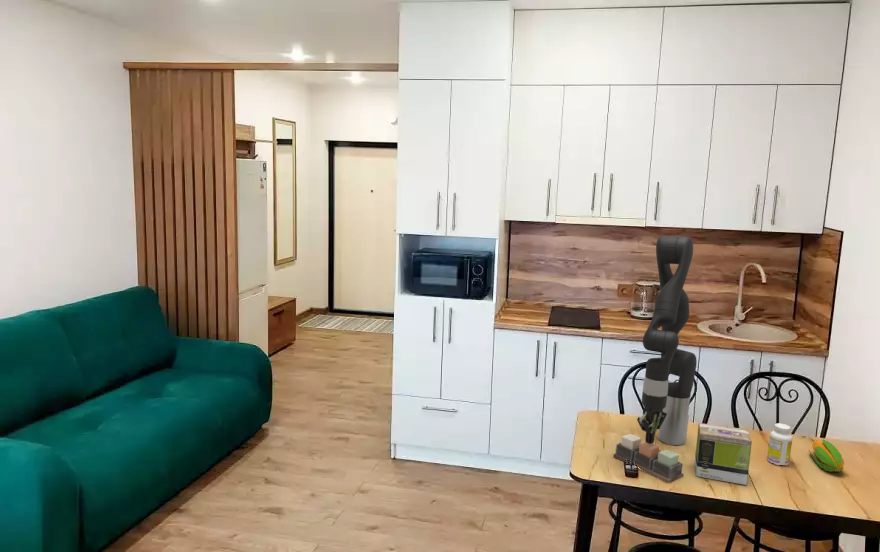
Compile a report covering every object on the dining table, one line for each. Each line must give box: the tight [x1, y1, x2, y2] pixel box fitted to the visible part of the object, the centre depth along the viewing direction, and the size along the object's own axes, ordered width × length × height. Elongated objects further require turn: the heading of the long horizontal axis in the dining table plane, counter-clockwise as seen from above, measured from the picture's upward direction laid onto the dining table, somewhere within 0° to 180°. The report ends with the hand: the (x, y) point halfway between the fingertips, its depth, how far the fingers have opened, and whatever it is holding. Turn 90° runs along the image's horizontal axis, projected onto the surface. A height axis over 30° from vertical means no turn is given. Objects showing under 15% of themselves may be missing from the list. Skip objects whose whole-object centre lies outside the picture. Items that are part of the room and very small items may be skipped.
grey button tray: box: [612, 442, 684, 484], centre depth 209 cm, size 8×21×4 cm, turn 37°
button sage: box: [657, 449, 680, 467], centre depth 203 cm, size 4×4×4 cm
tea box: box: [694, 422, 753, 486], centre depth 205 cm, size 15×10×15 cm
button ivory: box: [620, 433, 642, 450], centre depth 214 cm, size 4×4×4 cm
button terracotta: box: [639, 442, 661, 458], centre depth 209 cm, size 4×4×4 cm
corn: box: [808, 438, 845, 473], centre depth 218 cm, size 7×8×20 cm
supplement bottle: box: [766, 422, 793, 466], centre depth 216 cm, size 7×7×13 cm
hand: (649, 442), depth 208 cm, fingers closed
